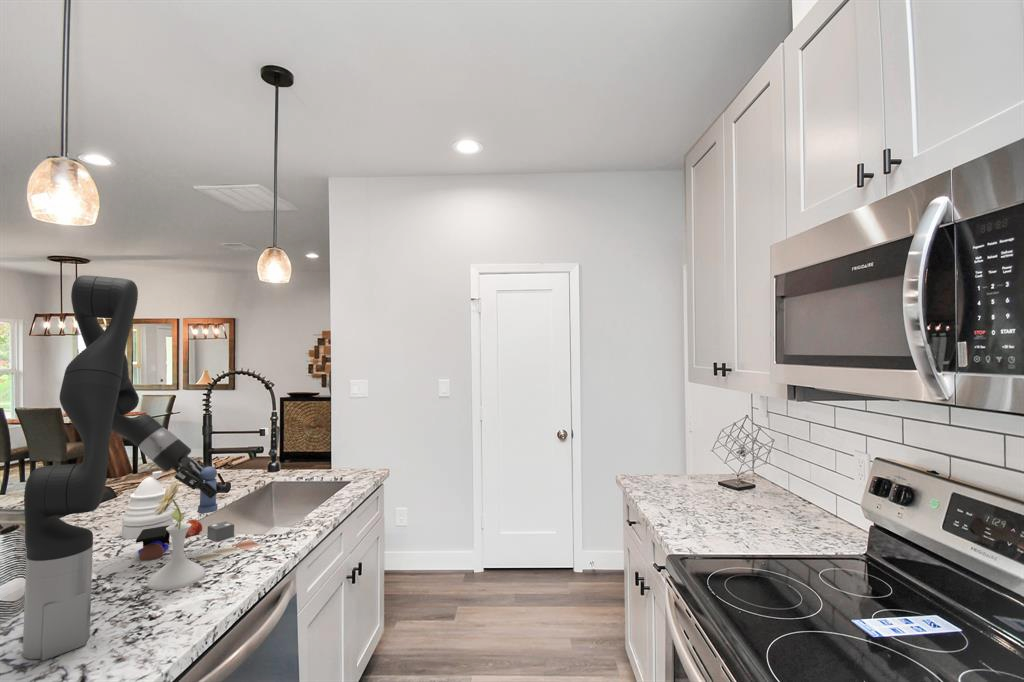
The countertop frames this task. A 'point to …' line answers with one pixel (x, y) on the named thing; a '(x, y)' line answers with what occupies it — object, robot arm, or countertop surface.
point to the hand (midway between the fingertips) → (216, 493)
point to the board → (225, 551)
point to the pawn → (206, 502)
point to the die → (220, 531)
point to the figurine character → (153, 542)
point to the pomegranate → (194, 528)
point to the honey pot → (145, 508)
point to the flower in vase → (175, 551)
